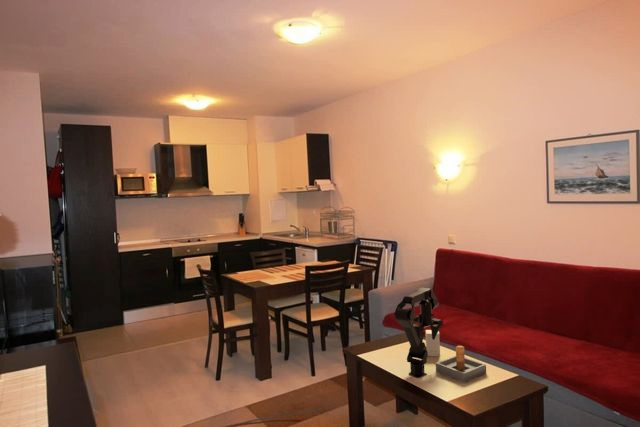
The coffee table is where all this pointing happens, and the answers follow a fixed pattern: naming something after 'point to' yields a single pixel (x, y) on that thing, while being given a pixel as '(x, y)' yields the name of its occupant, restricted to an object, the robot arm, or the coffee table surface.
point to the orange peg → (460, 358)
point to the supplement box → (432, 344)
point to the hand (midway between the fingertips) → (427, 341)
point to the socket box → (470, 372)
